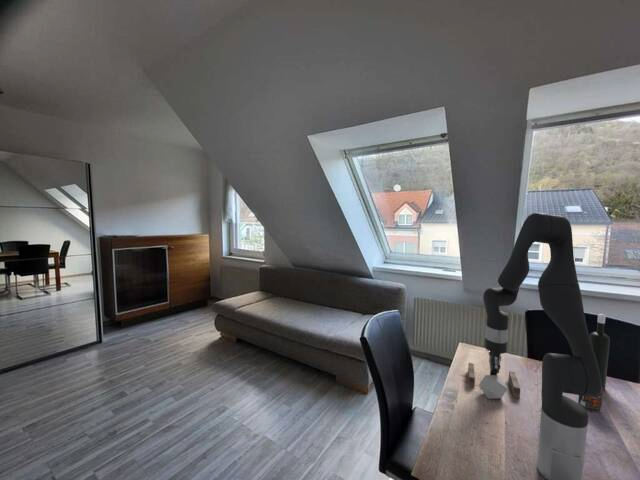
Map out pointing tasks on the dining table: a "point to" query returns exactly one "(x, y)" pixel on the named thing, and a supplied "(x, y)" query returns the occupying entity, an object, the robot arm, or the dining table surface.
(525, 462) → the dining table surface
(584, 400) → the supplement bottle
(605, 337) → the wine bottle
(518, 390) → the pair of wooden rails
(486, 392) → the die
